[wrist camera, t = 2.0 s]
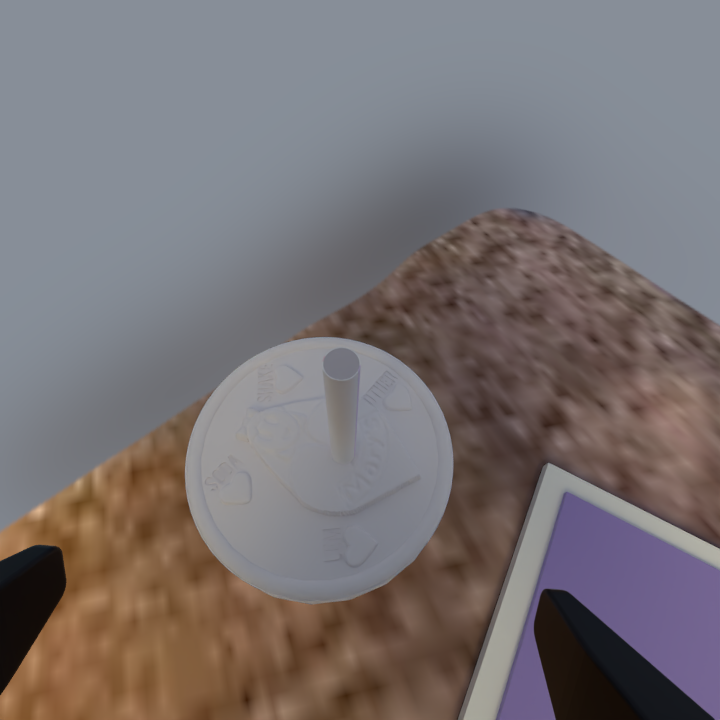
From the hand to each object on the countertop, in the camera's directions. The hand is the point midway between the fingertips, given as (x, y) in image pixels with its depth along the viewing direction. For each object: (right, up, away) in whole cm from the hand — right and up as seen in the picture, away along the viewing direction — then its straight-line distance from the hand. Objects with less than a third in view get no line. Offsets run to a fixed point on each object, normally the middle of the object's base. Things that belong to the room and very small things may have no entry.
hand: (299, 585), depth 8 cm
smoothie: (0, -3, +11) cm, 11 cm away
